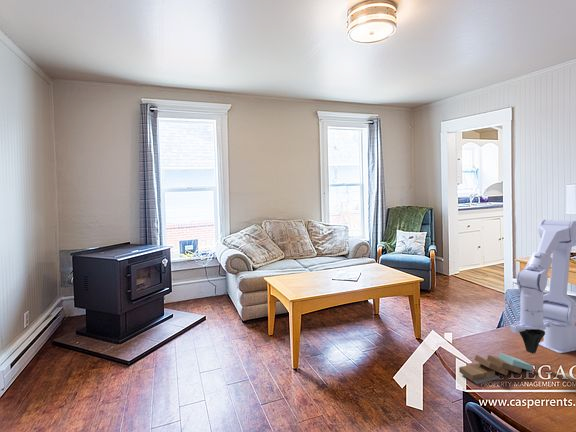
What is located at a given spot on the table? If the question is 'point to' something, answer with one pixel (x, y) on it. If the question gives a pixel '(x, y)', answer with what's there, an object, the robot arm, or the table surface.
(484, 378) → the charcoal domino
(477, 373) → the domino
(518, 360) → the teal domino
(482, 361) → the domino
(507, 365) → the domino
